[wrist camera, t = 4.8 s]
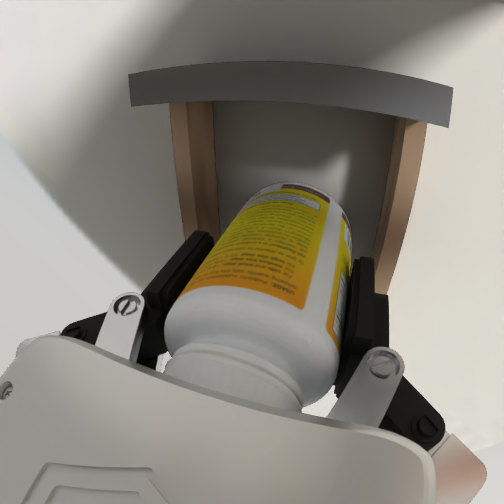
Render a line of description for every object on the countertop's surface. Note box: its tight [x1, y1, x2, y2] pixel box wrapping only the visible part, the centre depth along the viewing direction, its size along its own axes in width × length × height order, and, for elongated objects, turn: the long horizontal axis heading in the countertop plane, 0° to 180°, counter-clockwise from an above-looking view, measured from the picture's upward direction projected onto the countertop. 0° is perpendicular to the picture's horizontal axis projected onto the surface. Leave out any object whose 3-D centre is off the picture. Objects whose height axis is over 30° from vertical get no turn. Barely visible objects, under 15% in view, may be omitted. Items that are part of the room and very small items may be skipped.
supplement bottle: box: [163, 182, 352, 413], centre depth 11 cm, size 6×6×10 cm
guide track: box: [128, 61, 453, 295], centre depth 13 cm, size 13×10×5 cm
